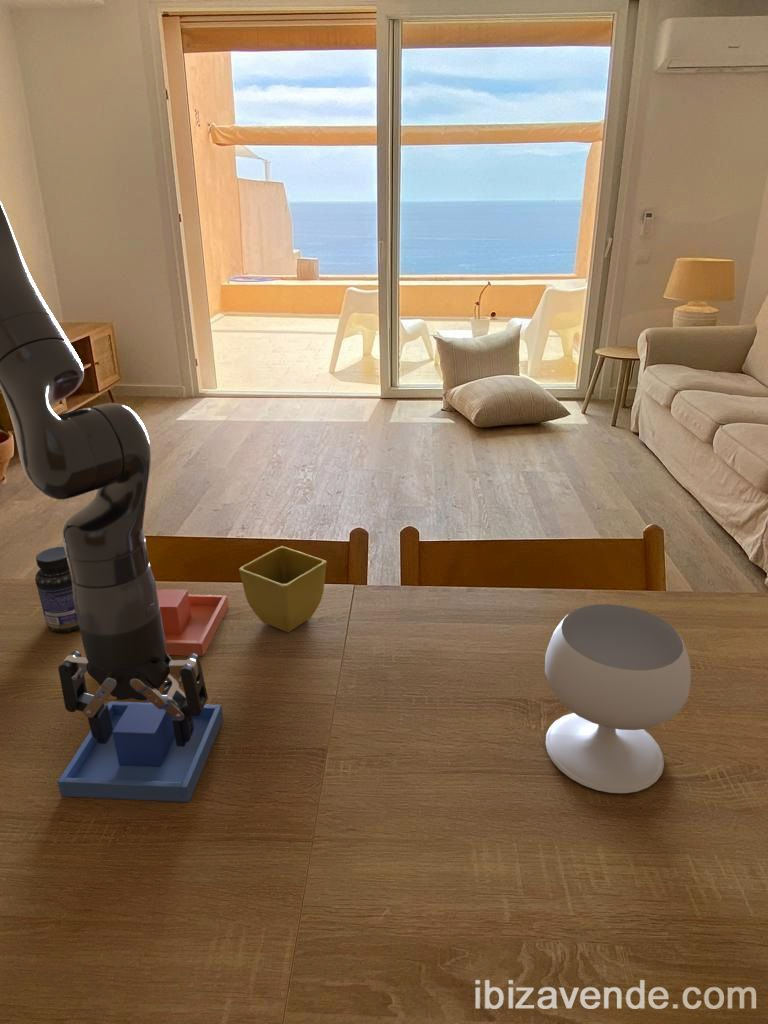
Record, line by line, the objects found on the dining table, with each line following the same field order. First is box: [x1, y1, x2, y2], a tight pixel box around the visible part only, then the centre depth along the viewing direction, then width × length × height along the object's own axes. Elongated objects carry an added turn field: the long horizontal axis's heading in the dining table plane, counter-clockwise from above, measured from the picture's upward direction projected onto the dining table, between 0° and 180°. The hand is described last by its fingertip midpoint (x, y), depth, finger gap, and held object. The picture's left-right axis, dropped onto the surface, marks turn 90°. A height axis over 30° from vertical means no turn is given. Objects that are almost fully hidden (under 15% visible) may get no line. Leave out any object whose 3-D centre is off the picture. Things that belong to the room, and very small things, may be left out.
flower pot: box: [238, 545, 327, 633], centre depth 97 cm, size 9×9×9 cm
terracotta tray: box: [164, 593, 229, 657], centre depth 97 cm, size 13×12×2 cm
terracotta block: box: [157, 589, 191, 635], centre depth 96 cm, size 4×4×4 cm
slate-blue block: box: [112, 704, 175, 767], centre depth 74 cm, size 4×4×4 cm
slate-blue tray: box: [57, 700, 224, 803], centre depth 75 cm, size 13×12×2 cm
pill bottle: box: [34, 545, 80, 634], centre depth 97 cm, size 6×6×11 cm
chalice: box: [544, 603, 692, 794], centre depth 71 cm, size 14×14×15 cm
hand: (144, 739), depth 74 cm, fingers open, 8 cm apart
